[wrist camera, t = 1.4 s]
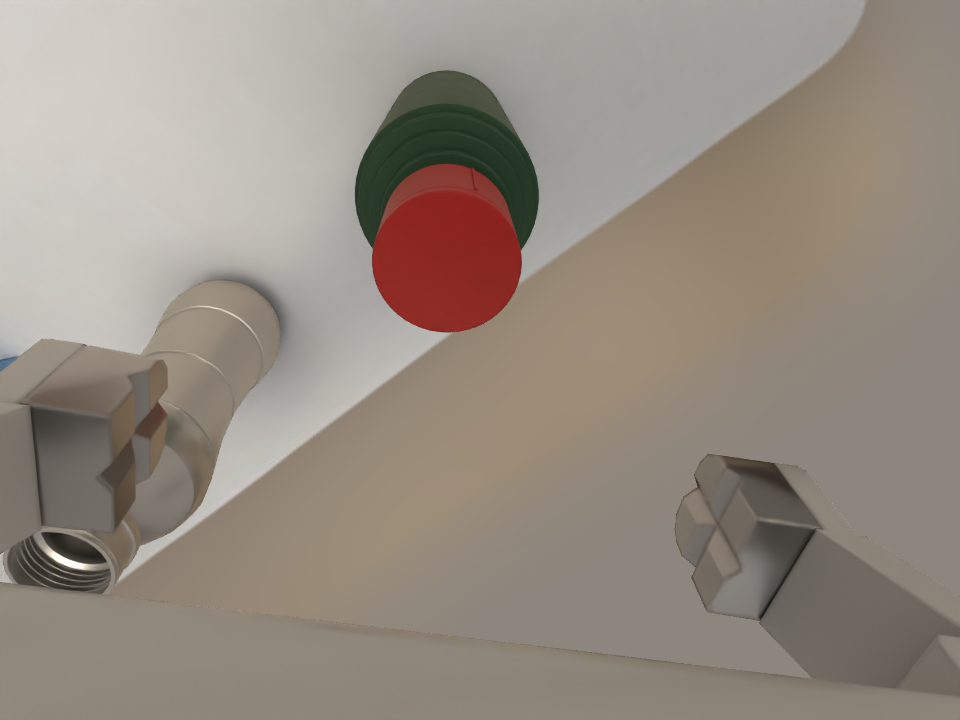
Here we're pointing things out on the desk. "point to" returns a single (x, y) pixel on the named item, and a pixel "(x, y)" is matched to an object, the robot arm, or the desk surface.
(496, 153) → the bottle
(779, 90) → the desk surface
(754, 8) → the desk surface
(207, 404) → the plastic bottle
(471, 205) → the cap
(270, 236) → the desk surface
